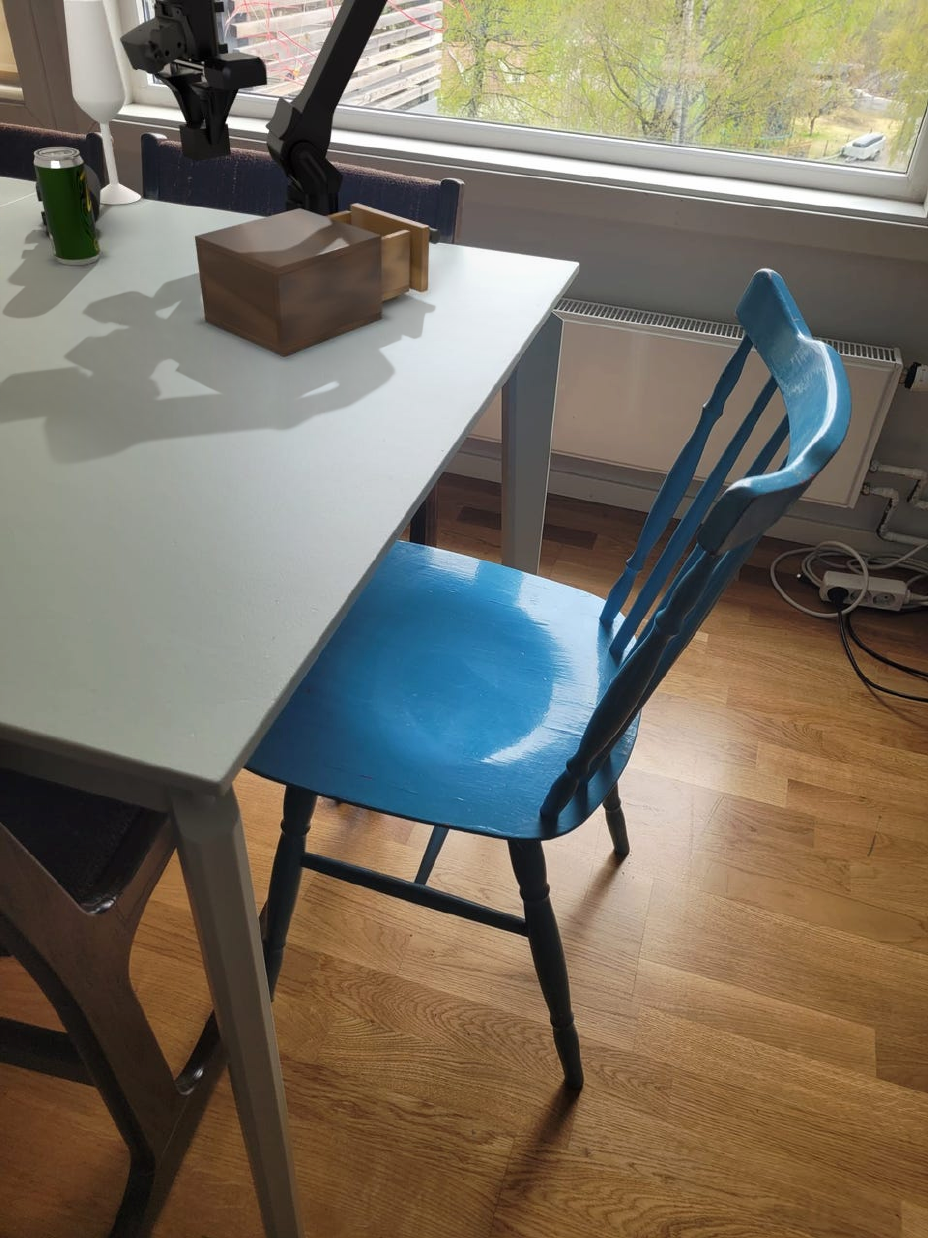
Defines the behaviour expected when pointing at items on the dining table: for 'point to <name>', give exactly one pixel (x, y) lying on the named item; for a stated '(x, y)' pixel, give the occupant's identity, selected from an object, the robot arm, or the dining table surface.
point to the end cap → (93, 191)
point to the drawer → (396, 247)
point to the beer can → (67, 205)
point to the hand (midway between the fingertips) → (205, 141)
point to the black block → (202, 142)
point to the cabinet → (290, 279)
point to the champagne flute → (97, 81)
